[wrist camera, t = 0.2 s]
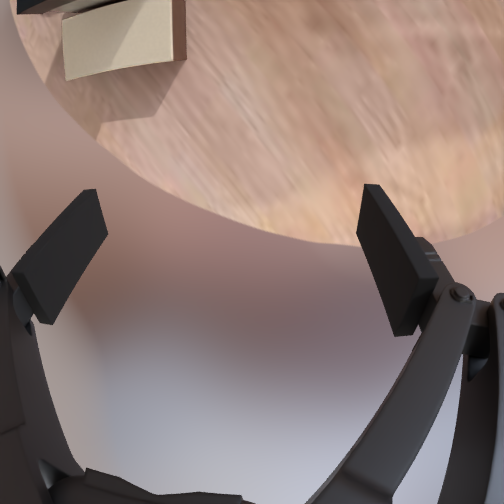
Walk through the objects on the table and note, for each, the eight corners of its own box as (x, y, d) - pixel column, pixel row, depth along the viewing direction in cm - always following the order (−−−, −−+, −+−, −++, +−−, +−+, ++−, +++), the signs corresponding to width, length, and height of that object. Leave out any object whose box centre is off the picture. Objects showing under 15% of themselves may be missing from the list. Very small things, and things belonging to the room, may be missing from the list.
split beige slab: (89, -35, 23) (63, -42, 18) (186, -59, 23) (171, -76, 17) (91, 74, 34) (65, 81, 28) (186, 59, 33) (171, 61, 28)
